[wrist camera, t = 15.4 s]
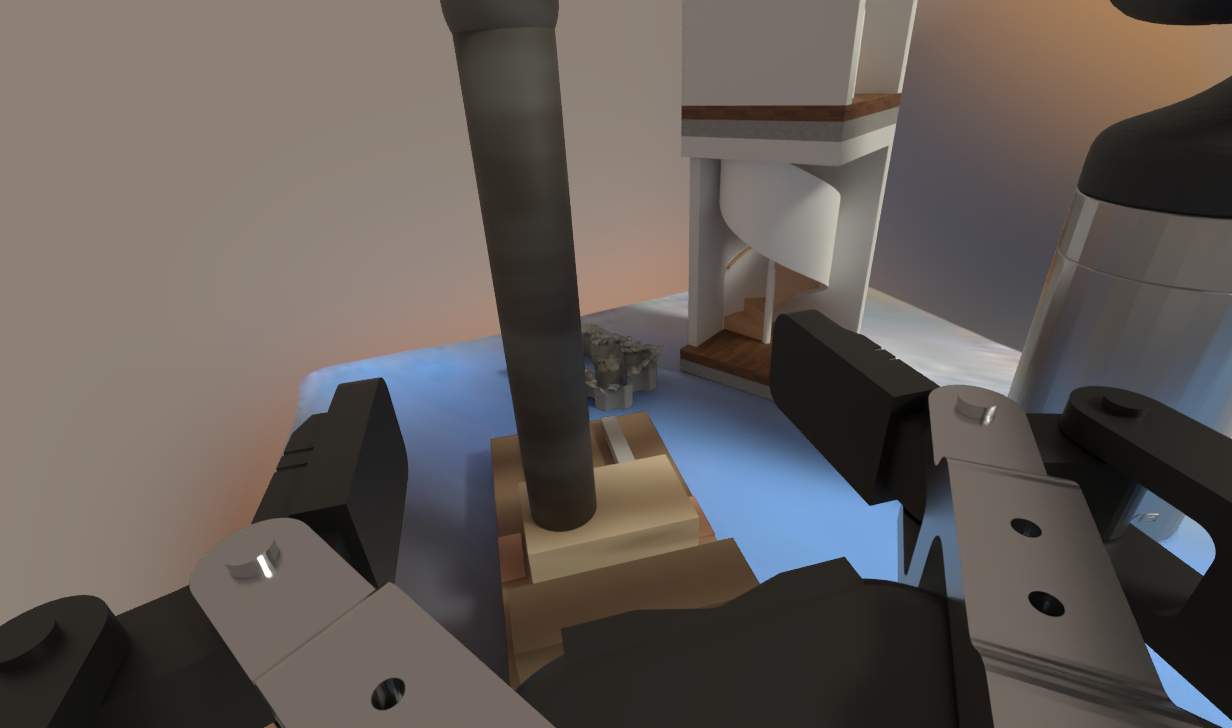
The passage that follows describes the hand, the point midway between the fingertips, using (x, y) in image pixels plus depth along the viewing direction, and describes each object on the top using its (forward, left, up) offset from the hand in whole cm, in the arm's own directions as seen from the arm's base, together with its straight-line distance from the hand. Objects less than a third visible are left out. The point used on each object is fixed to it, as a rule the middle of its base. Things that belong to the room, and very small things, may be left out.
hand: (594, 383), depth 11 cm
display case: (-36, -2, -18) cm, 40 cm away
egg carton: (-28, -15, -19) cm, 37 cm away
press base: (-12, -7, -18) cm, 23 cm away
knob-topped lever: (-10, -5, -15) cm, 19 cm away
